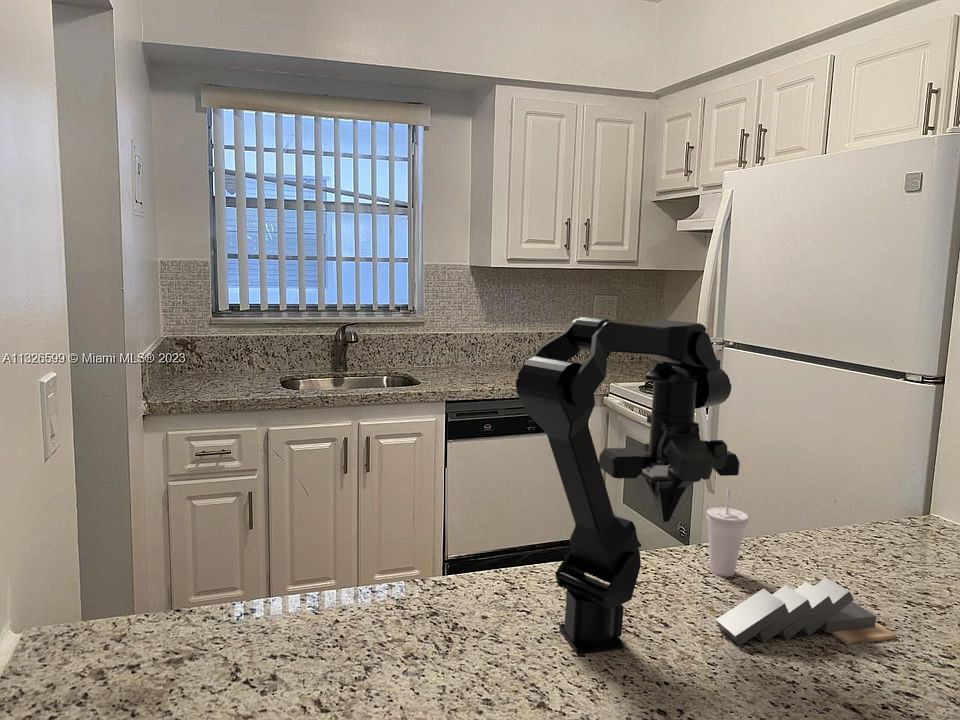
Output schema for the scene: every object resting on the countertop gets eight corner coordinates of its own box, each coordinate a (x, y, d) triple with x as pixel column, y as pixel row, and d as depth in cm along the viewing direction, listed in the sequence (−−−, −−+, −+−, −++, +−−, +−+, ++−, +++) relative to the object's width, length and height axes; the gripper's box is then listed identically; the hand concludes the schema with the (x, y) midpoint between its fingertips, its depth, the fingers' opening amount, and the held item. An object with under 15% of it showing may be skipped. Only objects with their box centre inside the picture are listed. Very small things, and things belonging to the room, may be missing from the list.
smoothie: (697, 573, 115) (705, 488, 113) (705, 560, 121) (712, 478, 119) (740, 583, 112) (748, 496, 110) (745, 569, 118) (753, 485, 116)
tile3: (782, 631, 95) (828, 595, 96) (761, 615, 99) (806, 581, 100) (787, 640, 95) (833, 604, 96) (765, 624, 99) (810, 589, 101)
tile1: (735, 636, 93) (784, 603, 94) (715, 619, 97) (763, 588, 98) (739, 645, 93) (788, 612, 95) (719, 629, 97) (767, 597, 99)
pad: (846, 644, 95) (847, 640, 95) (799, 611, 103) (800, 608, 103) (896, 638, 97) (896, 634, 97) (845, 607, 106) (846, 604, 106)
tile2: (759, 633, 94) (807, 599, 95) (739, 617, 98) (785, 584, 99) (764, 643, 94) (812, 608, 95) (743, 626, 98) (789, 593, 100)
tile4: (804, 627, 96) (849, 591, 97) (782, 611, 100) (825, 577, 101) (808, 635, 96) (853, 599, 97) (786, 620, 100) (829, 585, 101)
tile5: (827, 621, 96) (876, 616, 99) (804, 606, 101) (851, 601, 103) (826, 632, 97) (874, 627, 99) (803, 617, 101) (850, 612, 103)
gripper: (634, 426, 90) (626, 546, 92) (768, 424, 94) (757, 540, 96) (600, 407, 101) (594, 516, 103) (722, 407, 105) (713, 511, 107)
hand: (664, 521), depth 102 cm, fingers closed
